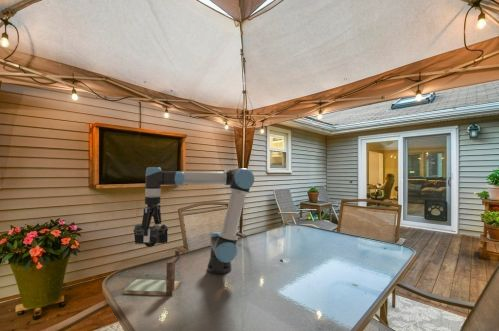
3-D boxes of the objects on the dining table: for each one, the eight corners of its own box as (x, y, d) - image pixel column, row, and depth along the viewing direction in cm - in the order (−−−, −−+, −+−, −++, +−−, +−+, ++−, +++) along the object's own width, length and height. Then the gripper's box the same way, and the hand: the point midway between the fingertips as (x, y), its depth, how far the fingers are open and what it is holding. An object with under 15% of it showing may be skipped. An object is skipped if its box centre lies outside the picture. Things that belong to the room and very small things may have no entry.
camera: (129, 250, 113) (128, 232, 112) (134, 241, 122) (134, 224, 121) (166, 248, 117) (166, 230, 115) (169, 239, 126) (169, 222, 124)
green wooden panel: (181, 283, 123) (182, 249, 124) (172, 295, 111) (173, 257, 112) (136, 282, 125) (137, 248, 125) (123, 293, 113) (124, 255, 113)
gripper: (155, 194, 131) (154, 233, 130) (133, 198, 109) (132, 245, 108) (168, 194, 131) (167, 233, 130) (149, 198, 108) (147, 246, 108)
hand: (151, 239), depth 119 cm, fingers closed on camera, 10 cm apart
